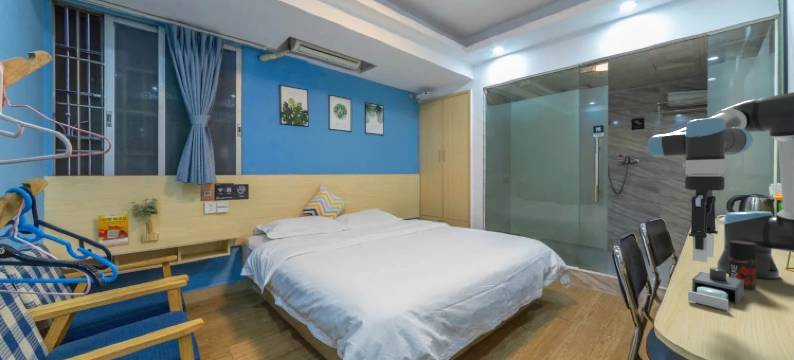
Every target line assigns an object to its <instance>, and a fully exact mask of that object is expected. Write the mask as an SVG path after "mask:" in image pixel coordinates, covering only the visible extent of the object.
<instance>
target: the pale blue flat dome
mask: <svg viewBox="0 0 794 360" xmlns="http://www.w3.org/2000/svg"><path fill="white" fill-rule="evenodd" d="M697 293H701V294H705V295H710V296H714V297H718V298H722V299H726V293H727V292H725V291H721V290H718V289H714V288H709V287H697Z"/></svg>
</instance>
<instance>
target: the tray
mask: <svg viewBox="0 0 794 360" xmlns="http://www.w3.org/2000/svg"><path fill="white" fill-rule="evenodd" d="M687 294H688V295H687V301H688V302H691V303H693V302H694V303H696V304H701V305H704V306H708V307H712V308H716V309H720V310H725V311H729V299H730V295H729V292H726V299H722V298H718V297H714V296H710V295H705V294H701V293H697V292H692V290H688V293H687Z"/></svg>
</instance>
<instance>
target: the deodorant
mask: <svg viewBox="0 0 794 360" xmlns="http://www.w3.org/2000/svg"><path fill="white" fill-rule="evenodd" d="M728 277H731V278H736V279H741V280H744V291H752V292H753V291H756V289H757V288H756V287H757V285H756V284H757V283H756V282H757V278H756V243H752V242H746V241H736V240H731V241H729V273H728Z"/></svg>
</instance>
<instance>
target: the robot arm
mask: <svg viewBox="0 0 794 360" xmlns="http://www.w3.org/2000/svg"><path fill="white" fill-rule="evenodd" d="M755 132H758V133H759V132H769V137H770V138H772V139H774V140H775V141H777V146H778V159H779V170H780V171H779V173H780V184H781V185H780V186H781V196H782V197H781V199H782V209H781V210H780V211H778V212H777V213H776V216H774V214H773V213H772V211H736V212H735V211H731V212H728V213H726V214H725V216H724V223H723V226H724V227H723V232H724V233H723V235H724V236H723V237H724V238H723V241H724V242H723V245H724V247H723V251H722V253H721V255H720V257H719V258H718V260H717V266H716V267H717V269H722V270H725V271H727V272H726V273H728V274H729V241H731V240H736V241H746V242H752V243H756V279H767V280H771V279H772V280H773V279H774V280H775V279H778V278H779V277H780V276H779V275H780V272H779V268H778V266H777V264H776V262H775V261H774V258H773V255H772V250H776V251H777V250H778V251H783V252H790V253H794V92H789V93H784V94H777V95H771V96H765V97H759V98H752V99H749V100H744V101H742V102H739V103H736V104H734V105H731V106H728V107H726V108H724V109H720V110H718V111H717V112H715V113H713V115H711V117H708V118H707V117H706V118H698V119H693V120H689V121H687V123H686V125H685V127H684V128H681V129H679V130H675V131H672V132H669V133H661V134H655V135H652V137H650V138H649V140H648V143H647V148H648V152H649V154H650V155H651V156H652V157H655V158H667V157H668V158H669V157H671V158H672V157H685V163H683V164H682V167H683V168H685V175H688V176H685V178H684V185H685V186H684V188H685V190H687V191H689V190H690V191H695V195H694V196H692V198H691V200H690V201H691V226H690V233H688V237H692V261H697V262H700V263H708V257H709V258H714V251H715V250H714V249H715V248H714V247H715V243H714V242H715V241H714V240H715V235H718V233H719V231H718V230H716V229H717V228H716V202H717V197H716V196H715V195H713V191H723V190H724V189H725V177H724V176H722V175H725V173H726V159H725V158H726V157H725V155H737V154H741V153H743V152H745V151H747V150H748V149H750V147H751V146H752V145H753V142H754V138H753V135H752V133H755Z"/></svg>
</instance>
